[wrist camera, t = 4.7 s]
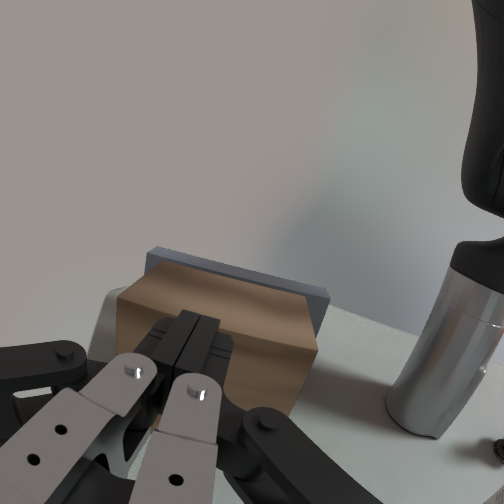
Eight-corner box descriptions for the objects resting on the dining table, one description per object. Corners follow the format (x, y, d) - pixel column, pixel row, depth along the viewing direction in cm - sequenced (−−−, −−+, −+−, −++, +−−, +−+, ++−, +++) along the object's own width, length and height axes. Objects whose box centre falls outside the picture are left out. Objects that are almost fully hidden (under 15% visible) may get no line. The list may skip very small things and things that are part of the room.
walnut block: (264, 462, 18) (318, 350, 15) (120, 422, 19) (117, 296, 16) (267, 400, 26) (305, 296, 23) (152, 370, 26) (163, 260, 23)
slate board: (301, 372, 32) (330, 299, 29) (139, 330, 32) (146, 252, 30) (300, 358, 35) (325, 288, 32) (148, 319, 35) (157, 246, 32)
